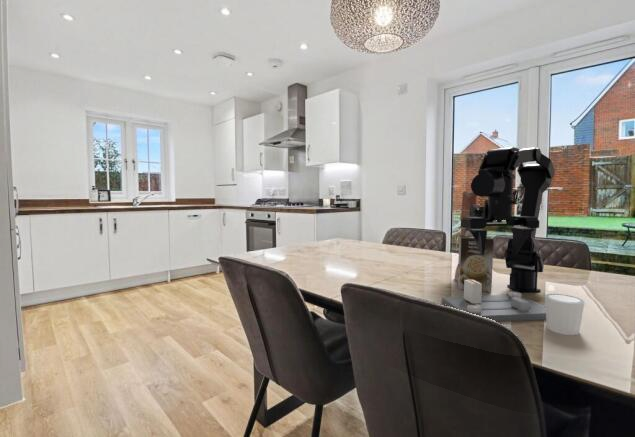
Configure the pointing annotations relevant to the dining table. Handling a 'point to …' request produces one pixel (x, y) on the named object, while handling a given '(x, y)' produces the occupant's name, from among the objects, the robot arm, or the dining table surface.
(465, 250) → the coffee box
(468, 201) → the vase
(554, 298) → the white cup
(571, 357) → the dining table surface
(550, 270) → the dining table surface
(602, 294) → the dining table surface
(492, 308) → the console
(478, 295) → the fader
